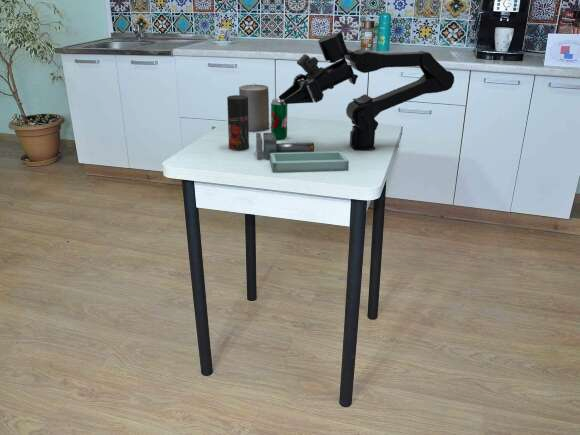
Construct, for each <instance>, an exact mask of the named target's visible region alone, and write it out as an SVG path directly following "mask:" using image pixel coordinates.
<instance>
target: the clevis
mask: <svg viewBox="0 0 580 435" xmlns="http://www.w3.org/2000/svg"><path fill="white" fill-rule="evenodd" d="M255 139H256V140H255V148H256V149H255V150H256V157H257V160H258V161H260V160H261V161H262V160H263V148H264V144H265V155H264V158H265V161H266V160H267V161H268V160H269V161H270V153H276V149H277V141H278V140H276V137H275V135H274V133H271V132H263V137H262V134H261V132H255Z"/></svg>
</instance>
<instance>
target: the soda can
mask: <svg viewBox="0 0 580 435" xmlns="http://www.w3.org/2000/svg"><path fill="white" fill-rule="evenodd" d="M270 131H271V132H270V133H274V135H275V137H276V140H277V141H278V140H279V141H280V140H282V139H283V140H286V139H287V137H288V104H285V103H284V100H280V99H279V98H273V99H272V100H271V104H270ZM285 138H286V139H285ZM283 140H282V141H283Z"/></svg>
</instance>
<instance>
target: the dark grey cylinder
mask: <svg viewBox="0 0 580 435" xmlns="http://www.w3.org/2000/svg"><path fill="white" fill-rule="evenodd" d="M292 152H315V143H314V142H290V143H289V142H288V143H287V142H281V143H280V142H279V143H277V149H276V153H292ZM263 155H264V156H265V144H264V147H263Z"/></svg>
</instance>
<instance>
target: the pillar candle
mask: <svg viewBox="0 0 580 435" xmlns="http://www.w3.org/2000/svg"><path fill="white" fill-rule="evenodd" d="M238 93H239V94H238V95H243V96H247V97H248V122H249V132H251V133H252V132H255V133H257V132H262V131H266V130H269V129H270V104H269V103H270V100H269V97H270V96H269V93H270V92H269V86H268V85H266V84H256V83H255V82H254V83H253V84H244V85H240V86H239V87H238Z"/></svg>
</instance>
